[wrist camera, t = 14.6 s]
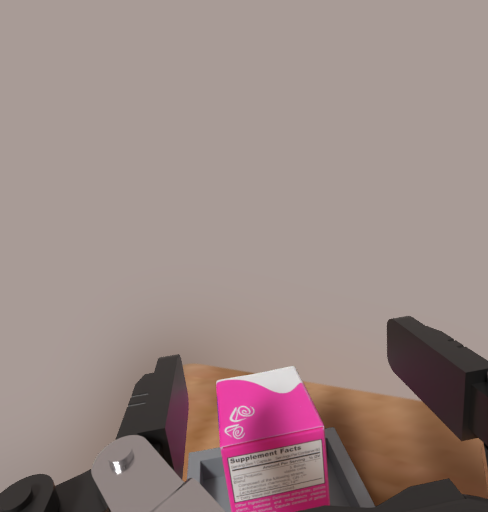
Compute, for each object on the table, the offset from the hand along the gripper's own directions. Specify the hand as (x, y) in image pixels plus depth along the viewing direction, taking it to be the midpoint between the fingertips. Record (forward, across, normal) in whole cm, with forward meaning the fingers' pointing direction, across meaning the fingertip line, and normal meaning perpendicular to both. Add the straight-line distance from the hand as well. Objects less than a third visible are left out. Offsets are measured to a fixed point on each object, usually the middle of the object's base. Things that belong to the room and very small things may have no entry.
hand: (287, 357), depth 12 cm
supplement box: (+6, +1, +18) cm, 19 cm away
